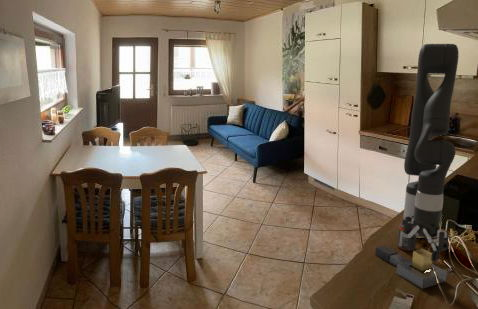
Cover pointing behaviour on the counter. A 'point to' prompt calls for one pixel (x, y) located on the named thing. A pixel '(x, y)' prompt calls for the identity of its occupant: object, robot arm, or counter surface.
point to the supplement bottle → (403, 237)
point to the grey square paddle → (410, 268)
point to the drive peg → (421, 260)
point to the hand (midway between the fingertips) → (422, 254)
